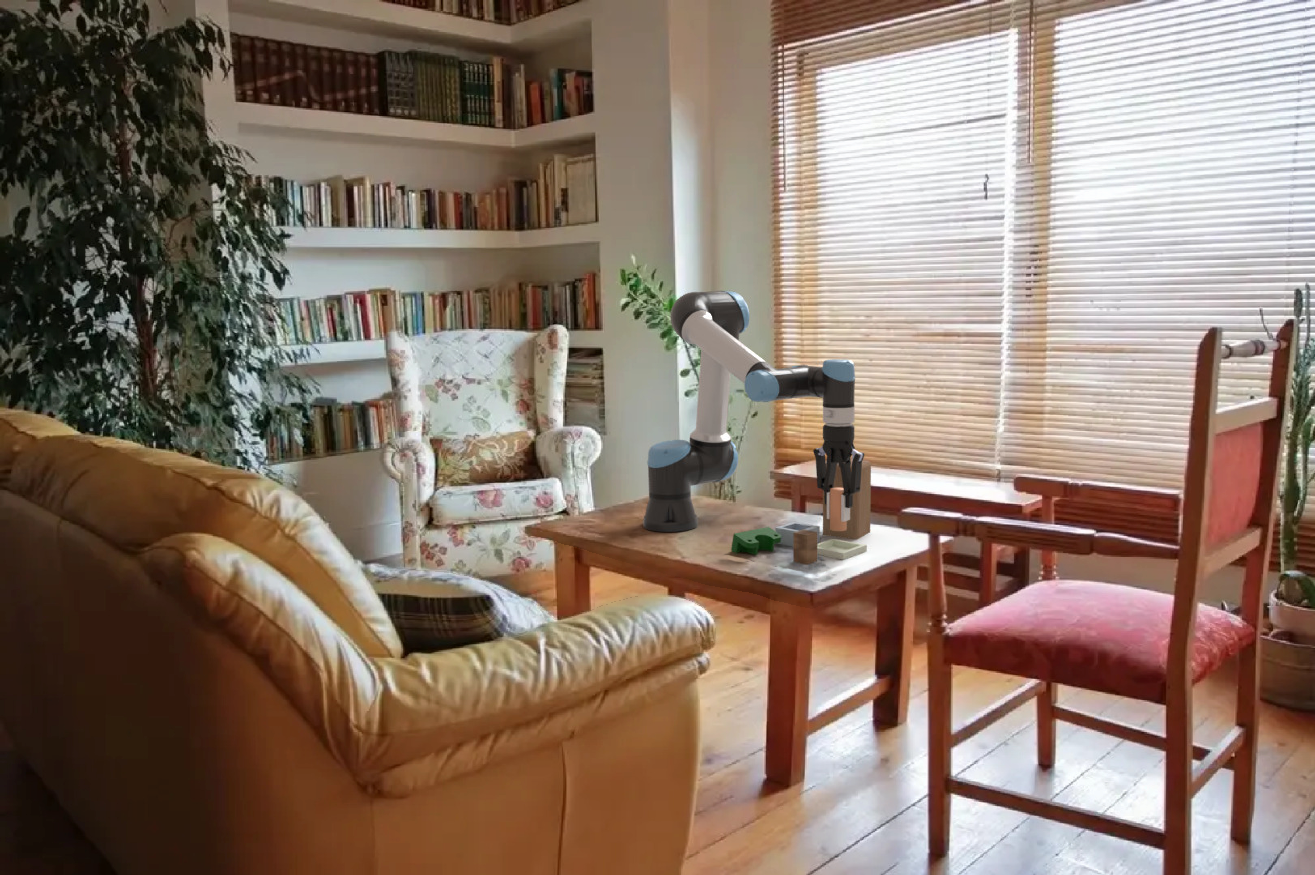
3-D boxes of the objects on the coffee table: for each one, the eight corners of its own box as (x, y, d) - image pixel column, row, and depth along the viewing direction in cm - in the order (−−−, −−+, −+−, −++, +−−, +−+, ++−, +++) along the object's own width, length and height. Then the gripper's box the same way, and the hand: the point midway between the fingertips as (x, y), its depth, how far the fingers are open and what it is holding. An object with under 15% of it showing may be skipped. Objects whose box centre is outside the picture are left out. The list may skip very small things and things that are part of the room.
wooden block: (857, 543, 264) (858, 466, 261) (821, 538, 270) (821, 463, 266) (871, 534, 273) (872, 460, 270) (836, 530, 278) (836, 457, 275)
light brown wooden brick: (793, 565, 245) (793, 532, 244) (803, 562, 248) (803, 529, 247) (807, 568, 242) (807, 535, 241) (817, 565, 245) (817, 532, 244)
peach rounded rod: (826, 529, 252) (826, 489, 250) (835, 526, 255) (836, 486, 253) (840, 532, 249) (840, 491, 248) (849, 529, 252) (850, 488, 250)
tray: (809, 556, 253) (809, 546, 252) (832, 548, 260) (832, 538, 260) (843, 563, 246) (843, 553, 246) (866, 554, 253) (866, 545, 253)
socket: (775, 546, 263) (775, 527, 262) (794, 540, 268) (794, 521, 267) (800, 552, 257) (800, 532, 256) (819, 545, 263) (819, 526, 262)
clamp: (749, 575, 253) (742, 547, 248) (734, 564, 258) (728, 537, 253) (786, 551, 258) (780, 523, 253) (771, 540, 262) (765, 513, 257)
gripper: (801, 423, 251) (801, 517, 255) (859, 428, 240) (858, 527, 243) (819, 419, 256) (819, 511, 260) (876, 424, 245) (876, 521, 248)
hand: (838, 519), depth 251 cm, fingers closed on peach rounded rod, 3 cm apart
